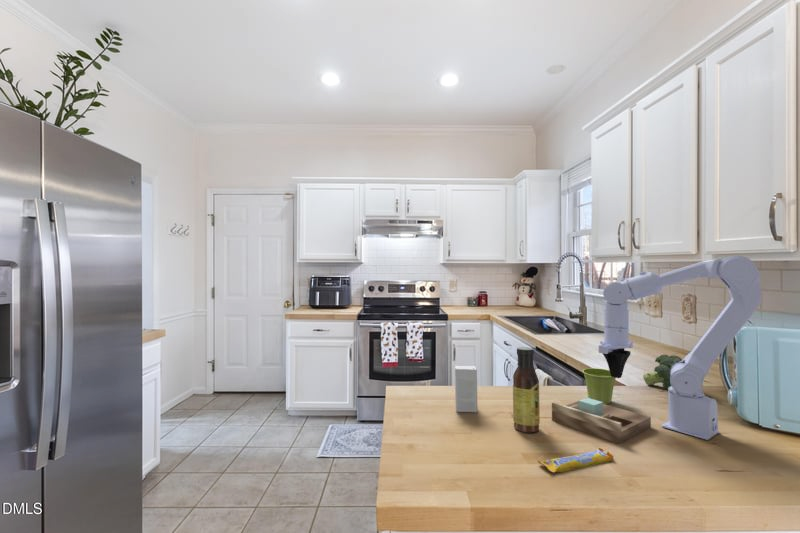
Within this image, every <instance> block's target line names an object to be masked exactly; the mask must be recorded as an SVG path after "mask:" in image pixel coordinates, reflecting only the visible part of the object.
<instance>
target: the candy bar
mask: <svg viewBox="0 0 800 533" xmlns="http://www.w3.org/2000/svg"><path fill="white" fill-rule="evenodd" d="M604 451H605V450H604V449H603V448H600V447H598V450H592V451H588V452H584V453H578V454H574V455H568V456H562V457H557V458H555V457H554V458H551V459H546V460H544V461H541V460H537V462H538V463H540V464H541V465H543V466H544V467H545V468H546V469H547V470H548V471H549V472H551V473H563V472H567V471H572V470H577V469H580V468H581V469H582V468H586V467H590V466H595V465H599V464H604V463H608V462H611V461H614V459H615V458H614V456H615V455H613V454H612V453H610V452H609V451H606V453H604Z"/></svg>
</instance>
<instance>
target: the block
mask: <svg viewBox="0 0 800 533" xmlns="http://www.w3.org/2000/svg"><path fill="white" fill-rule="evenodd" d="M578 401H579V410H581V411H584V412H588V413H591V414H594V415H597V416H601V415H603V402H601V401H597V400H594V399H590V398H588V397H586V398H583V399H580V400H578Z"/></svg>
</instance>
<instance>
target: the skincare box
mask: <svg viewBox="0 0 800 533" xmlns="http://www.w3.org/2000/svg"><path fill="white" fill-rule="evenodd" d="M476 367H477V366H475V365H454V386H455V387H454V388H455V390H454V391H455V412H456V413H478V410H479V408H478V407H479V406H478V369H477V368H476Z"/></svg>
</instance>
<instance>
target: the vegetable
mask: <svg viewBox="0 0 800 533" xmlns="http://www.w3.org/2000/svg"><path fill="white" fill-rule="evenodd" d="M682 360H683V359H682V358H681V356H678V355H674V354H673V355H670V356H669V354H661V355H659V356H657V357H656V358H655V360H654V362H655V363H658V364H659V365H657V366H655V367H654V369H653V371H654V372H646V373H643V375H642V376H643V377H642V378H643V380H644V382H645V384H646V385H647V386H654V385H656V384H660V383H661V384H662V387H663V388H664V389H665V390H666V391H668V388H669V387H671V383H670V377H671V375H670V370H671V368H672V366H673V365H675V364H676V363H679V362H681V361H682Z"/></svg>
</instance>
